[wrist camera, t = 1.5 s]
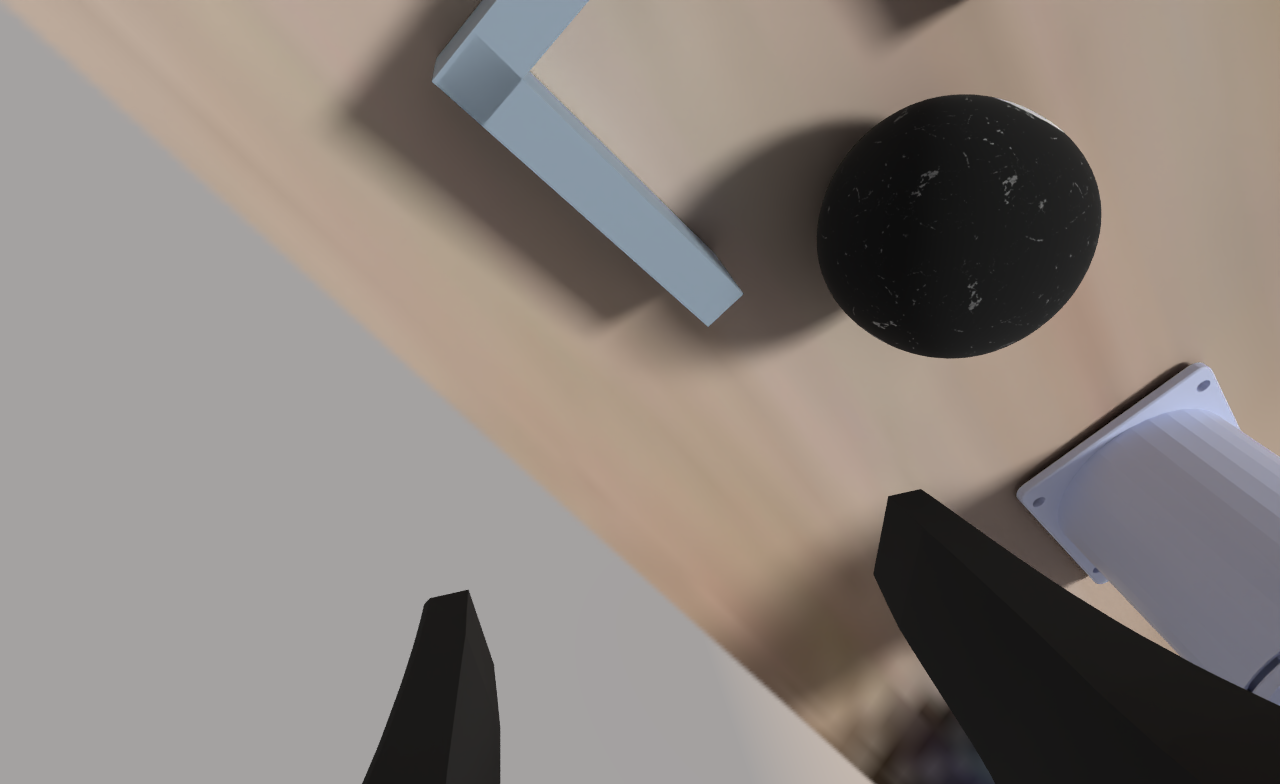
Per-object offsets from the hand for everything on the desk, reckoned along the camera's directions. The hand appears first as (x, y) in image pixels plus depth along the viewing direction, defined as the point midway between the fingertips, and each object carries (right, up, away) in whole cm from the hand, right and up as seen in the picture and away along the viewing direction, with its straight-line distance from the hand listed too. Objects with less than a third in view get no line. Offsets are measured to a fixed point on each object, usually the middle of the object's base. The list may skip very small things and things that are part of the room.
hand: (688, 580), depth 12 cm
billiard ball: (+6, +9, +8) cm, 13 cm away
